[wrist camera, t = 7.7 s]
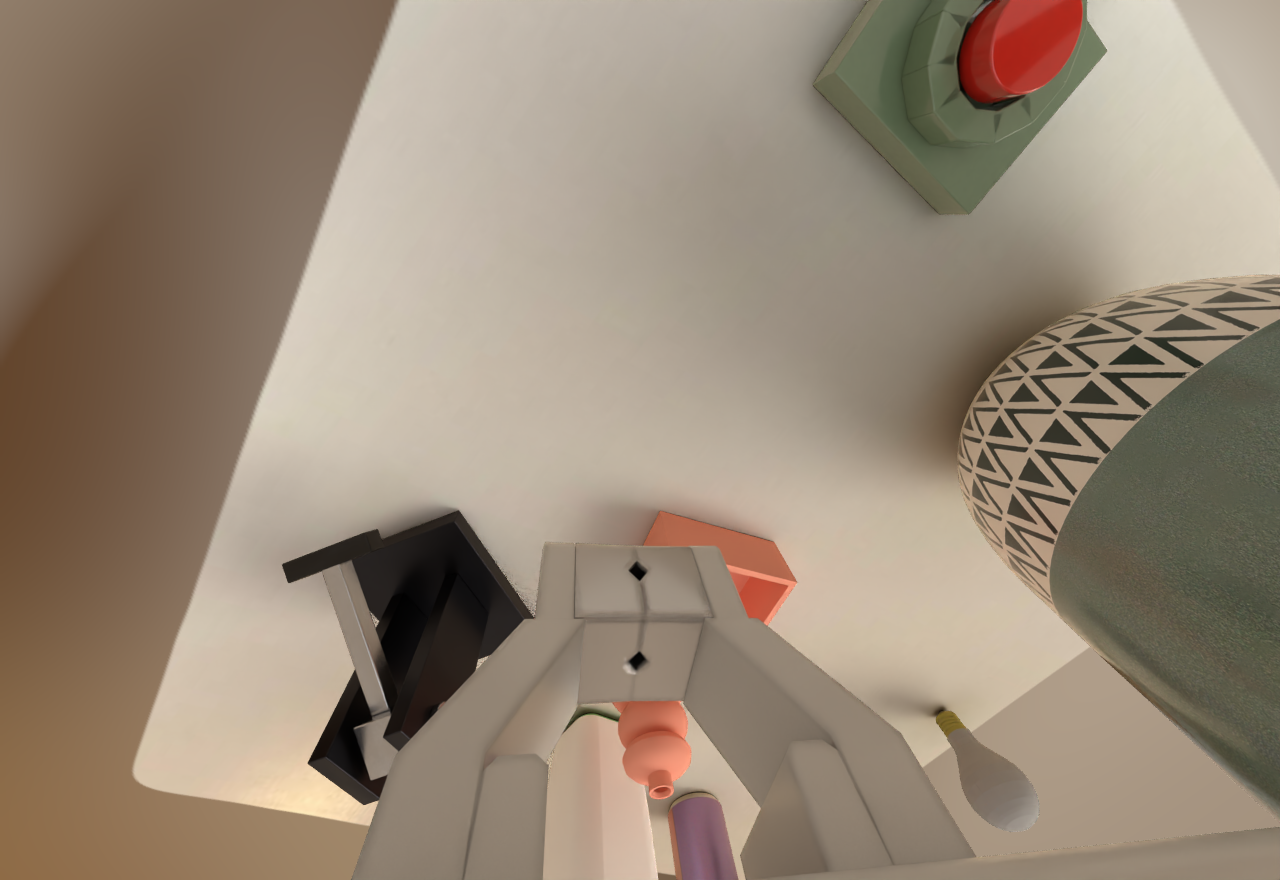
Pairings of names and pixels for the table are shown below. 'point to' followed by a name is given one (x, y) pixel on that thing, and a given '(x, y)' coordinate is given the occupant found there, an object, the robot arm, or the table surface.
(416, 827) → the robot arm
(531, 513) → the table surface
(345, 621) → the lever
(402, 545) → the bracket
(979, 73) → the button
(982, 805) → the light bulb
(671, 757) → the pottery
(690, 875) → the beverage can
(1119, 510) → the planter
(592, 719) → the cup
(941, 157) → the control block
